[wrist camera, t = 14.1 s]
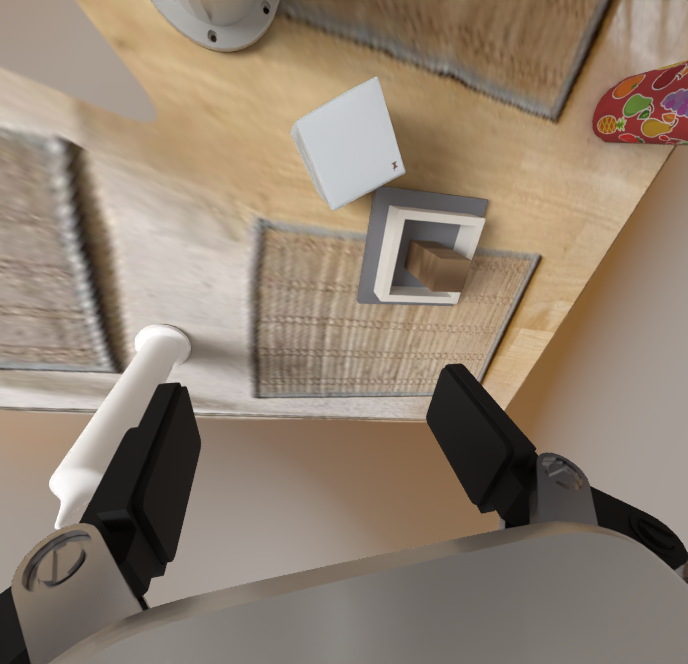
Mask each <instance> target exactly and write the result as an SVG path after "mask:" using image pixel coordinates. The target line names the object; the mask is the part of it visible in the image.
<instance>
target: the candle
mask: <svg viewBox="0 0 688 664" xmlns="http://www.w3.org/2000/svg"><path fill="white" fill-rule="evenodd" d="M135 348H136V351H137V352H138V353H137V354H136V356H135V357H134V359H133V360H132V362H131V363H130V364H129V366H128V367H127V369H126V370H125V372H124V373H123V374H122V376H121V377H120V379H119V380H118V382H117V383H116V385H115V386H114V387H113V389H112V390H111V392H110V393H109V395H108V396H107V398H106V399H105V400H104V402H103V403H102V405H101V406H100V408H99V409H98V411H97V412H96V413H95V415H94V416H93V418H92V419H91V421H90V422H89V424H88V425H87V426H86V428H85V429H84V431H83V432H82V434H81V435H80V437H79V438H78V440H77V441H76V442H75V444H74V445H73V447H72V448H71V449H70V451H69V452H68V454H67V455H66V457H65V458H64V460H63V461H62V462H61V464H60V465H59V467H58V468H57V470H56V471H55V472H54V474H53V475H52V477H51V479H50V482H49V486H50V489H51V491H52V492H53V493H54V494H55V495H56V496H57V497H58V498H59V499H60V500H61V507H60V511H59V514H58V517H57V520H56V523H55V526H54V528H55V529H61V528H62V527H63V526H64V525H65V524H66V523H67V521H68V520H69V519H70V518H71V517H72V516H73V514H74V513H75V512H76V511H77V510H78V509H79V508H80V507H81V506H83V505H84V504H86V503H88V502H90V501H91V499H92V497H93V495H94V493H95V491H96V489H97V487H98V485H99V483H100V481H101V479H102V477H103V475H104V473H105V472H106V470H107V468H108V466H109V464H110V462H111V460H112V458H113V456H114V454H115V452H116V450H117V448H118V446H119V444H120V442H121V440H122V438H123V436H124V435H125V433H126V432H127V430H128V429H130V428H133V427H138V425H139V423H140V421H141V419H142V417H143V415H144V413H145V411H146V408H147V406H148V404H149V402H150V400H151V398H152V396H153V394H154V392H155V390H156V388H157V386H158V385H159V384H163V383H165V382H166V380H167V378H168V376H169V374H170V372H171V370H172V367H173V366H176V365H179V364H181V363H183V362H184V361H185V360H186V359H187V358H188V356H189V354H190V351H191V344H190V341H189V339H188V338H187V336H186V335H185V334H184V333H183V332H182V331H180V330H179V329H177V328H175V327H172V326H169V325H165V324H154V325H150V326H147V327H145V328H143V329H142V330H141V331H140V332H139V333H138V334H137V336H136V338H135Z"/></svg>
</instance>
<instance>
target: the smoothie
mask: <svg viewBox="0 0 688 664" xmlns="http://www.w3.org/2000/svg"><path fill="white" fill-rule="evenodd" d="M593 130H594V132H595V134H596V135H597V136H598V137H600V138H601V139H602V140H604V141H605V142H611V143H637V144H662V145H688V60H687V61H683V62H680V63H676V64H673V65H669V66H666V67H662V68H659V69H656V70H652V71H649V72H645V73H642V74H638V75H635V76H631V77H628V78H626V79H624V80H623V81H621V82H620V83H618V84H617V85H616V86H615V87H613V88H611V89H610V90H609V91H608V92H607V93H606V94H605V95H604V96H603V97H602V99H601V100H600V102H599V104H598V106H597V108H596V110H595V113H594V117H593Z"/></svg>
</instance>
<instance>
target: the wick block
mask: <svg viewBox="0 0 688 664" xmlns="http://www.w3.org/2000/svg"><path fill="white" fill-rule="evenodd" d="M471 262H472V260H470V259H468V258H466V257H464V256H462V255H461V254H459V253H457V252H455V251H453V250H451V249H449V248H448V247H446V246H444V245H442V244H440V243H438V242H436V241H424V240H410V243H409V247H408V252H407V256H406V261H405V266H404V268H405V269H406V270H408V271H409V272H410V273H411V274H412V275H413V276H414V277H416V278H417V279H418V280H419V281H420V282H421V283H422V284H424V285H425V286H426V287H427V288H428V289H429V290H430V291H432V292H460V293H461V292H462V289H463V286H464V283H465V280H466V277H467V274H468V271H469V268H470V265H471Z"/></svg>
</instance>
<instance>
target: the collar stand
mask: <svg viewBox="0 0 688 664" xmlns="http://www.w3.org/2000/svg"><path fill="white" fill-rule="evenodd" d="M487 203H488V200H486V199H480V198H472V197H464V196H456V195H448V194H440V193H432V192H424V191H416V190H409V189H401V188H393V187H385V186H380V187H378V188H376V189H375V190H374V194H373V200H372V207H371V213H370V219H369V226H368V232H367V239H366V245H365V252H364V258H363V264H362V271H361V277H360V284H359V290H358V297H357V301H358V303H363V304H400V305H437V306H453V304H457V302H458V299H459V296H460V292H432V291H430V290H429V289H428V288H427V287H426V286H425V285H424V284H422V283H421V282H420V281H419V280H418V279H417V278H416V277H414V276H413V275H412V274H411V273H410V272H409V271H408V270H406V269H405V268H404V266H405V261H406V256H407V252H408V247H409V243H410V240H424V241H436V242H438V243H440V244H442V245H444V246H446V247H448V248H449V249H451V250H453V251H455V252H457V253H459V254H461V255H462V256H464V257H466V258H468V259H470V260H472V258H473V255H474V252H475V249H476V246H477V243H478V241H479V238H480V235H481V232H482V229H483V226H484V223H485V220H486V219H485V218H482V217H483V214H484V211H485V208H486V206H487Z"/></svg>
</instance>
